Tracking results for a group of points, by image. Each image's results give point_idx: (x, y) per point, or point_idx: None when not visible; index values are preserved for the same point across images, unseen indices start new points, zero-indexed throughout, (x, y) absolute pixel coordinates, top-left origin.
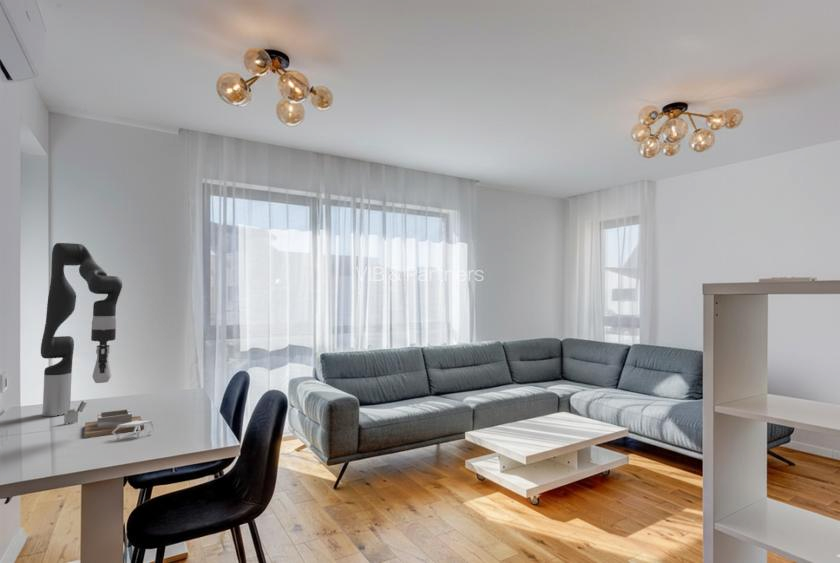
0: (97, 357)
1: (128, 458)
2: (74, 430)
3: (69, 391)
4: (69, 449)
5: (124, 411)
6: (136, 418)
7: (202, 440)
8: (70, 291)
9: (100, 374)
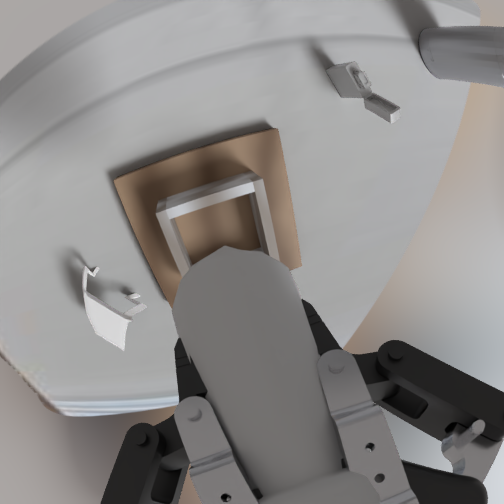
0: (191, 474)
1: None
2: (231, 109)
3: (480, 79)
4: (22, 190)
5: (268, 255)
6: None
7: (82, 394)
8: None
9: (178, 334)
